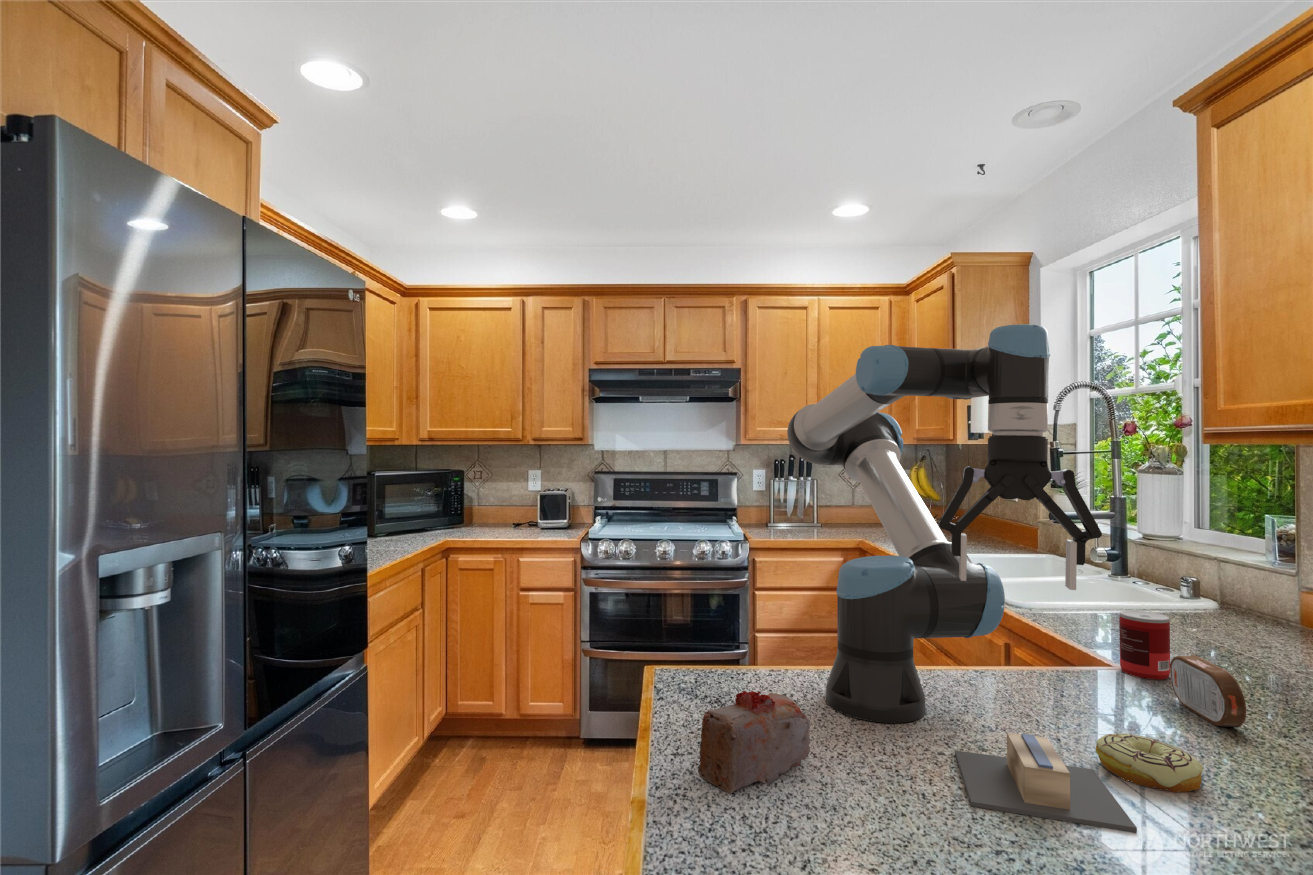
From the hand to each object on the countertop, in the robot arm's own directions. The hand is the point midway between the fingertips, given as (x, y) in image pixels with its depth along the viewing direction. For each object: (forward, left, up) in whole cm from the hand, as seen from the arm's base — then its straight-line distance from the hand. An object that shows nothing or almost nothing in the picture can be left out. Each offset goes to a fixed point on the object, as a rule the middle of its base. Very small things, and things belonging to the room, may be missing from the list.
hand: (1015, 583), depth 93 cm
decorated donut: (+14, -6, -22) cm, 27 cm away
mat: (-1, -15, -22) cm, 26 cm away
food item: (-33, -22, -22) cm, 46 cm away
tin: (+31, +21, -22) cm, 43 cm away
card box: (-1, -15, -22) cm, 26 cm away
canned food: (+30, +42, -22) cm, 56 cm away
